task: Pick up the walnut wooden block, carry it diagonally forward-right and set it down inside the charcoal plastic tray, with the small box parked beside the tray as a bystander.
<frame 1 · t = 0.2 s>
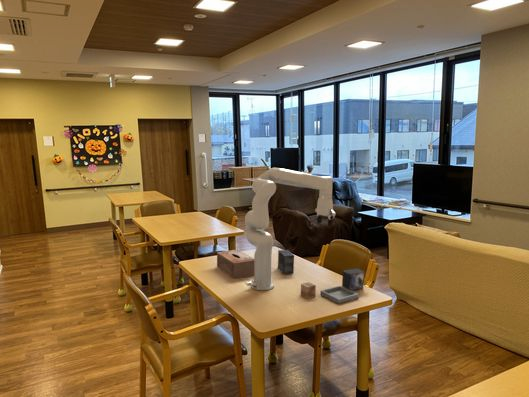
hand: (324, 224, 235), 31 cm above the table, fingers open, 9 cm apart
tray: (339, 296, 203), on the table
small box 2: (285, 271, 243), on the table
block: (308, 295, 204), on the table
small box: (352, 289, 214), on the table
tissue box cover: (235, 271, 241), on the table
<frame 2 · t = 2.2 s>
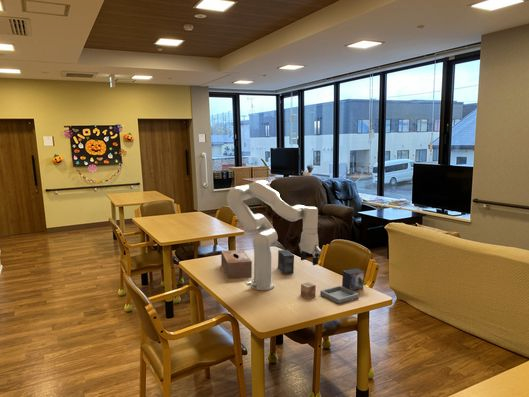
hand: (309, 262, 202), 18 cm above the table, fingers open, 9 cm apart
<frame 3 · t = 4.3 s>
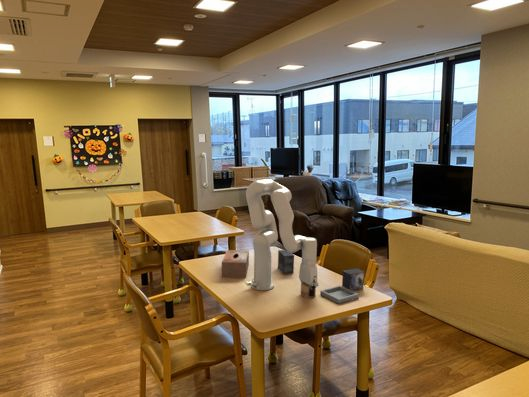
hand: (308, 293, 204), 1 cm above the table, fingers closed on block, 5 cm apart
block: (308, 295, 204), on the table, touching gripper
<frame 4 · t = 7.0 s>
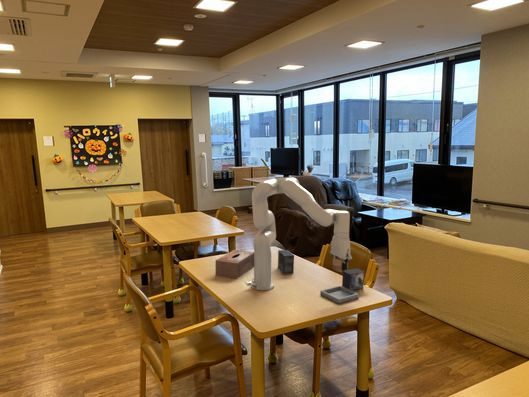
hand: (340, 268, 201), 16 cm above the table, fingers closed on block, 5 cm apart
block: (340, 269, 201), point 15 cm above the table, touching gripper
when the fingers open (3 cm above the table, at t = 9.8 s): block drops 1 cm, resting on tray.
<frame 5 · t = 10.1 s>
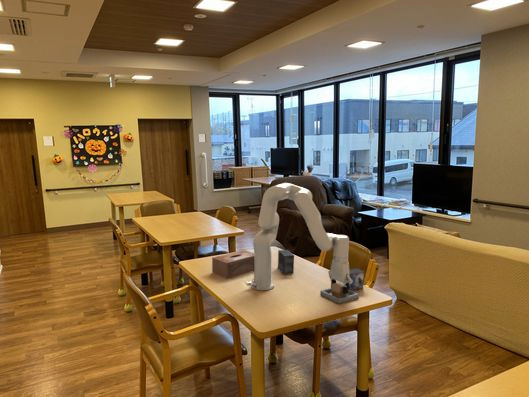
hand: (339, 290, 202), 3 cm above the table, fingers open, 8 cm apart
block: (339, 295, 203), point 1 cm above the table, touching tray
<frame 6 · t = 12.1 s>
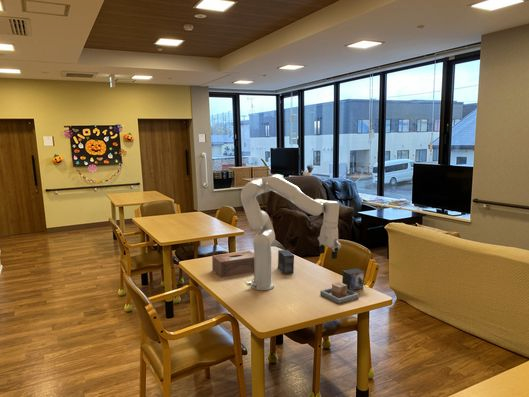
hand: (327, 255, 204), 21 cm above the table, fingers open, 9 cm apart
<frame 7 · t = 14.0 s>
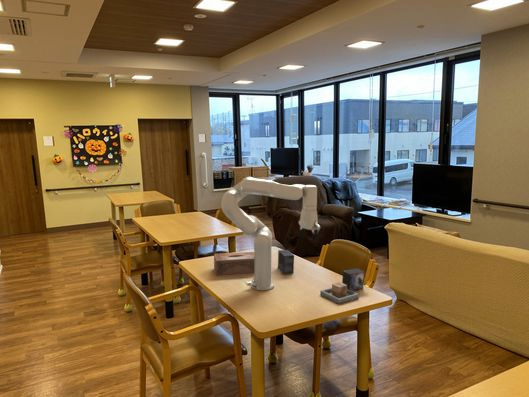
hand: (308, 238, 210), 28 cm above the table, fingers open, 9 cm apart
at the end: block inside the target area on the tray (0.0 cm from its centre), point 0.6 cm above the tray's base; block tilted 0°; the gripper is holding nothing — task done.
